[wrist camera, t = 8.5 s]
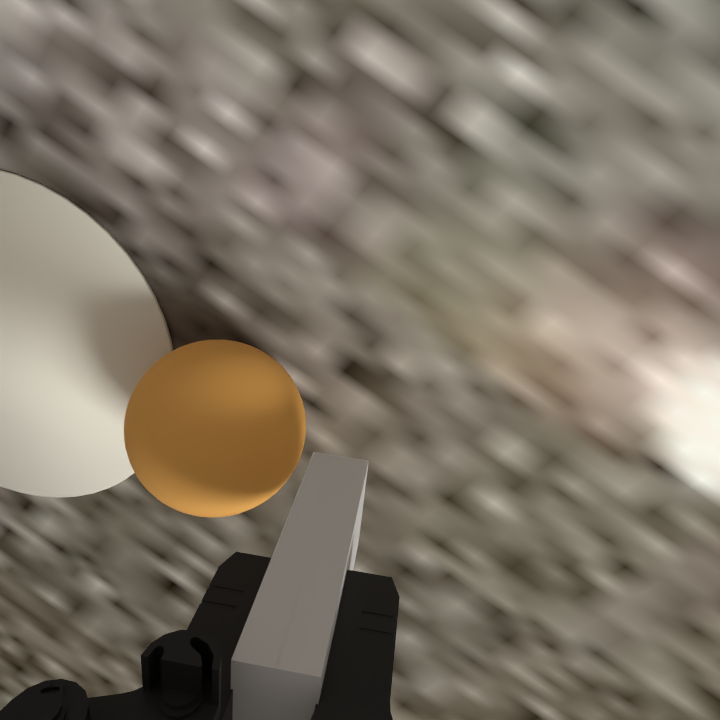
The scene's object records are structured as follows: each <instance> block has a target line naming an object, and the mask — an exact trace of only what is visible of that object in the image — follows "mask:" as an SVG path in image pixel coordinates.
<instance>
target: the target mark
mask: <svg viewBox="0 0 720 720" xmlns="http://www.w3.org/2000/svg"><path fill="white" fill-rule="evenodd" d="M171 351H173V344H172V340H171V337H170V333H169V330H168V327H167V323H166V320H165V317H164V315H163V313H162V310H161V308H160V306H159V303H158V301H157V299H156V296H155V295H154V293H153V291H152V289H151V288H150V286H149V284H148V282H147V281H146V279H145V277H144V275H143V274H142V272H141V271H140V269H139V268H138V267H137V265H136V264H135V263H134V261H133V260H132V258H131V257H130V256H129V254H128V253H127V252H126V251H125V249H124V248H123V247H122V246H121V245H120V244H119V243H118V242H117V241H116V239H115V238H114V237H113V236H112V235H111V234H110V233H109V232H108V231H107V230H106V229H105V228H104V227H103V226H102V225H100V224H99V223H98V222H97V221H96V220H95V219H94V218H93V217H92V216H90V215H89V214H88V213H87V212H85V211H84V210H83V209H81V208H80V207H78V206H77V205H76V204H74V203H73V202H71V201H70V200H69V199H67V198H66V197H64V196H62V195H60V194H59V193H57V192H55V191H53V190H51V189H50V188H48V187H46V186H44V185H42V184H40V183H37V182H35V181H33V180H30V179H28V178H25V177H23V176H20V175H17V174H14V173H10V172H6V171H3V170H0V487H4V488H7V489H10V490H14V491H17V492H20V493H25V494H31V495H36V496H45V497H76V496H82V495H87V494H93V493H96V492H99V491H102V490H105V489H108V488H110V487H112V486H114V485H116V484H118V483H120V482H122V481H124V480H125V479H127V478H128V477H129V476H131V475H132V474H133V473H135V472H134V470H133V468H132V466H131V464H130V462H129V459H128V455H127V452H126V448H125V442H124V419H125V413H126V409H127V405H128V402H129V399H130V397H131V395H132V392H133V391H134V389H135V387H136V385H137V384H138V382H139V380H140V379H141V378H142V377H143V375H144V374H145V373H146V371H147V370H148V369H149V368H150V367H151V366H152V365H153V364H154V363H156V362H157V361H158V360H159V359H161V358H162V357H163V356H165V355H166V354H168V353H169V352H171Z"/></svg>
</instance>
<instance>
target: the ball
mask: <svg viewBox="0 0 720 720" xmlns="http://www.w3.org/2000/svg"><path fill="white" fill-rule="evenodd" d="M305 435H306V418H305V411H304V406H303V402H302V399H301V396H300V394H299V391H298V389H297V387H296V385H295V383H294V382H293V380H292V378H291V377H290V375H289V374H288V373H287V372H286V371H285V369H284V368H283V367H282V366H281V365H280V364H279V363H278V362H277V361H275V360H274V359H273V358H272V357H270V356H269V355H267V354H266V353H264V352H263V351H261V350H259V349H257V348H255V347H253V346H250V345H247V344H244V343H241V342H237V341H231V340H204V341H198V342H194V343H190V344H187V345H184V346H182V347H179V348H177V349H175V350H173V351H171V352H169V353H168V354H166V355H165V356H163V357H162V358H161V359H159V360H158V361H157V362H156V363H154V364H153V365H152V366H151V367H150V368H149V369H148V370H147V371H146V373H145V374H144V375H143V377H142V378H141V379H140V380H139V382H138V384H137V385H136V387H135V389H134V391H133V392H132V395H131V397H130V399H129V402H128V405H127V409H126V413H125V419H124V442H125V448H126V452H127V455H128V459H129V462H130V464H131V466H132V468H133V470H134V472H135V474H136V476H137V477H138V479H139V480H140V482H141V483H142V484H143V485H144V487H145V488H146V489H147V490H148V491H149V492H150V493H151V494H152V495H154V496H155V497H156V498H157V499H158V500H159V501H161V502H163V503H164V504H166V505H167V506H169V507H171V508H173V509H175V510H178V511H180V512H183V513H186V514H190V515H194V516H200V517H224V516H230V515H235V514H239V513H242V512H244V511H247V510H250V509H252V508H254V507H256V506H258V505H260V504H261V503H263V502H265V501H266V500H267V499H269V498H270V497H271V496H273V495H274V494H275V493H276V492H277V491H278V490H279V489H280V488H281V487H282V486H283V485H284V484H285V483H286V481H287V480H288V479H289V477H290V476H291V474H292V472H293V471H294V469H295V468H296V466H297V464H298V461H299V459H300V456H301V453H302V450H303V446H304V442H305Z"/></svg>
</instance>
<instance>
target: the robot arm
mask: <svg viewBox="0 0 720 720" xmlns="http://www.w3.org/2000/svg"><path fill="white" fill-rule="evenodd" d="M368 462H369V460H362V459H356V458H350V457H343V456H337V455H331V454H324V453H318V452H313V454H312V456H311V459H310V462H309V464H308V467H307V469H306V472H305V474H304V477H303V479H302V482H301V484H300V487H299V489H298V492H297V494H296V497H295V500H294V502H293V505H292V507H291V510H290V512H289V515H288V517H287V520H286V522H285V525H284V527H283V530H282V532H281V535H280V537H279V540H278V543H277V545H276V548H275V550H274V553H273V555H272V558H269V557H263V556H257V555H252V554H246V553H240V552H235V553H234V554H233V555H232V556H231V557H230V558H228V559H227V560H226V561H225V562H224V563H222V564H221V565H220V566H219V568H218V570H217V572H216V574H215V576H214V578H213V580H212V581H211V583H210V587H209V589H207V591H206V593H205V595H204V597H203V599H202V603H201V604H200V605H199V607H198V609H197V611H196V613H195V615H194V617H193V619H192V621H191V623H190V625H189V627H188V629H187V630H179V631H175V632H172V633H168V634H165V635H163V636H162V637H160V638H158V639H157V640H155V641H154V642H152V643H151V644H150V645H149V646H148V647H147V649H146V650H145V651H144V652H143V654H142V655H141V665H142V681H143V687H142V688H139V689H137V690H135V691H131V692H127V693H122V694H116V695H108V696H100V697H92V698H87V695H86V691H85V690H84V689H83V688H82V687H81V686H79V685H78V684H77V683H76V682H72V681H68V680H64V679H58V680H49V681H44V682H41V683H39V684H37V685H34V686H32V687H29V688H27V689H26V690H25V691H23V692H22V693H21V694H19V695H18V696H16V697H15V698H14V699H12V700H11V701H10V702H9V703H8V704H7V705H6V706H5V707H4V708H3V709H2V710H1V711H0V720H393V719H392V716H391V712H390V695H391V684H392V673H393V661H394V650H395V639H396V628H397V617H398V606H399V595H398V592H397V590H396V587H395V585H394V582H393V580H392V577H386V576H380V575H375V574H369V573H363V572H357V571H353V567H354V562H355V557H356V552H357V547H358V542H359V534H360V526H361V518H362V510H363V502H364V494H365V486H366V478H367V470H368Z"/></svg>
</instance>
